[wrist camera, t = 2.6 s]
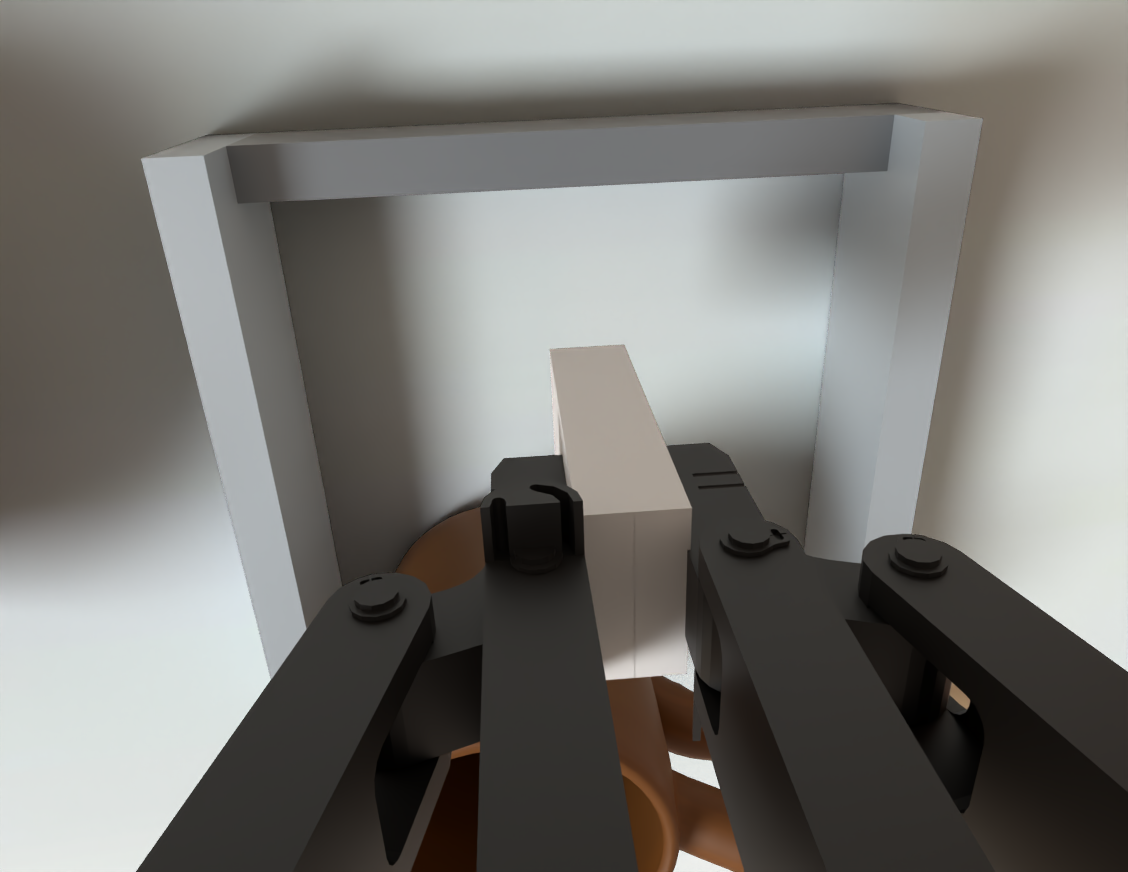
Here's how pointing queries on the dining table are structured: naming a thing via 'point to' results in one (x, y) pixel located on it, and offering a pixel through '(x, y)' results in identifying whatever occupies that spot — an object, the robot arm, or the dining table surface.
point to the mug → (643, 734)
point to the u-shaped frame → (553, 160)
